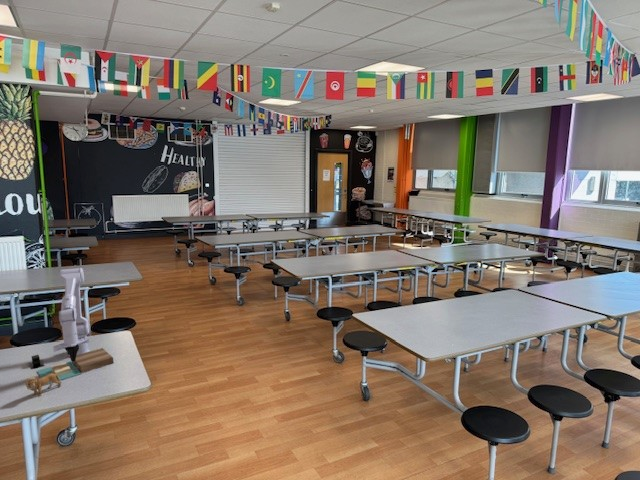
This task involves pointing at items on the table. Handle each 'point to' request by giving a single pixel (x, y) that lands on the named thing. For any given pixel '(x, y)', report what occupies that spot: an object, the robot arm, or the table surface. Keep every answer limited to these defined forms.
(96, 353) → the walnut board
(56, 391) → the table surface
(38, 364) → the black slotted bracket
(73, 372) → the teal mat
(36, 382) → the lion figurine
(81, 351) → the robot arm
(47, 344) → the table surface
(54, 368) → the beech tile
